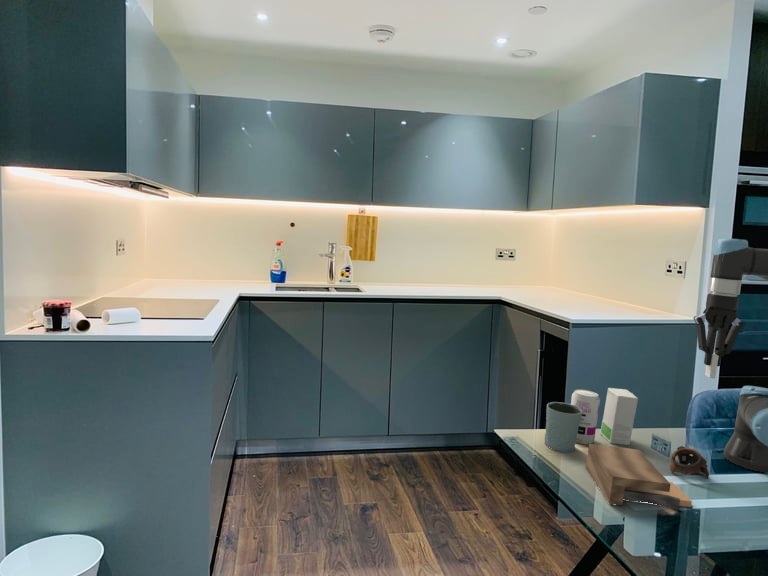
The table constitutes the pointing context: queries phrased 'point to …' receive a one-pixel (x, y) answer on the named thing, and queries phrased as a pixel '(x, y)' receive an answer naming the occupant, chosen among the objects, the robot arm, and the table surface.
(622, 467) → the walnut shelf
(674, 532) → the table surface
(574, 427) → the grey cylindrical pot
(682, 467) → the broken clay pot
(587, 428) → the supplement can
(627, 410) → the skincare box
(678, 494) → the terracotta panel
